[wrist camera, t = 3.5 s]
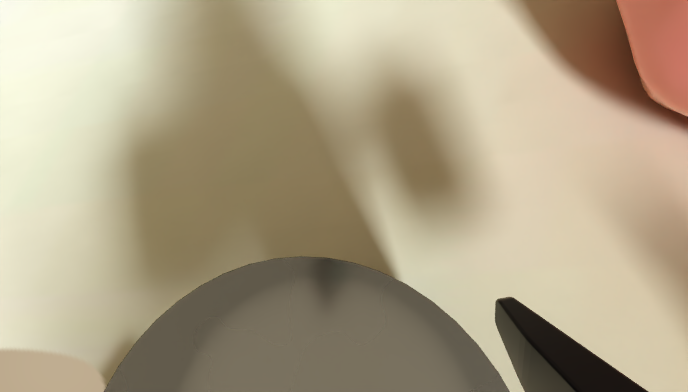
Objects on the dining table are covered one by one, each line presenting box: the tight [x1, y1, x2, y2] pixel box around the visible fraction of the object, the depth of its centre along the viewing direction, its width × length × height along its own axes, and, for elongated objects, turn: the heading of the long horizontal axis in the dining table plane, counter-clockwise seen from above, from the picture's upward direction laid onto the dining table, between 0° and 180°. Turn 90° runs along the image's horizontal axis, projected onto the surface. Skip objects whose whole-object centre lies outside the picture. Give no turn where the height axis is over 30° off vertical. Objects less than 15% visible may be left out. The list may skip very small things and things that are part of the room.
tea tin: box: [104, 257, 509, 392], centre depth 10 cm, size 6×6×12 cm
